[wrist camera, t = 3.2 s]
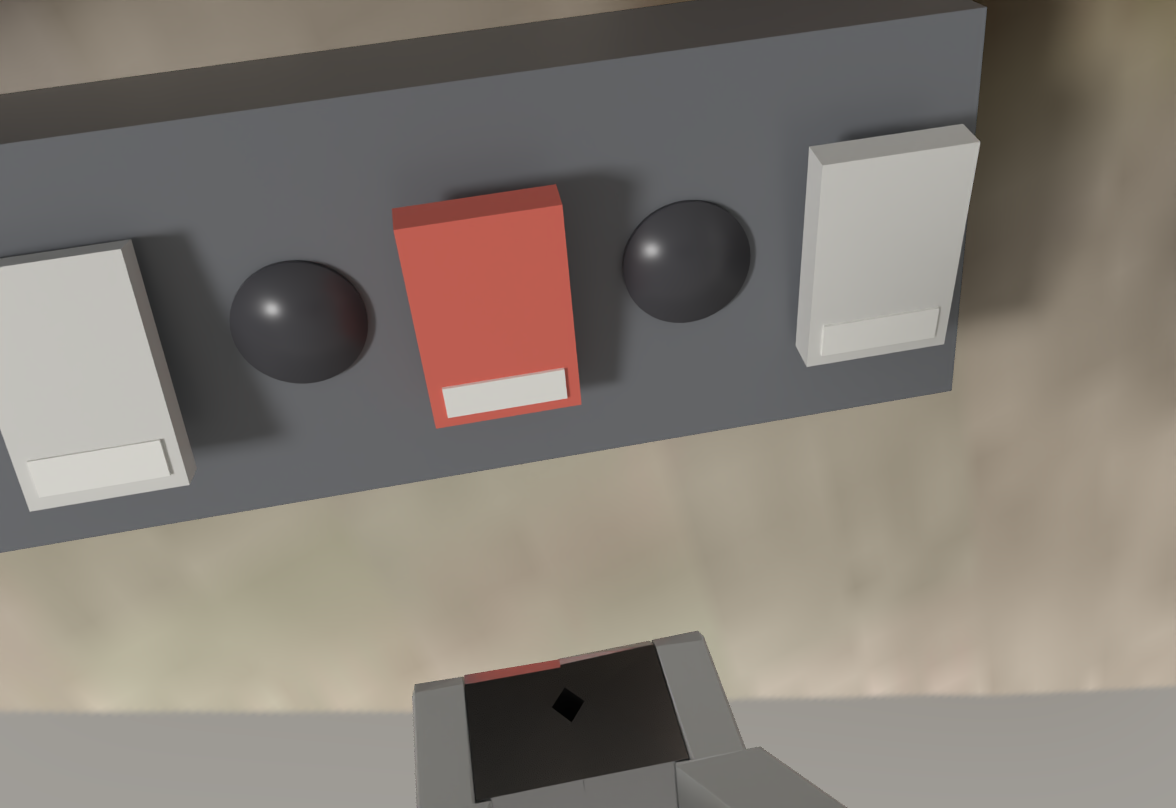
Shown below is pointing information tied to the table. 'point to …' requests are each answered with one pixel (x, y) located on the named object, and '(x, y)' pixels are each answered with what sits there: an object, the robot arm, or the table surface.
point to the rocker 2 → (882, 242)
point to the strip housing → (465, 169)
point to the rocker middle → (491, 303)
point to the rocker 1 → (86, 379)
